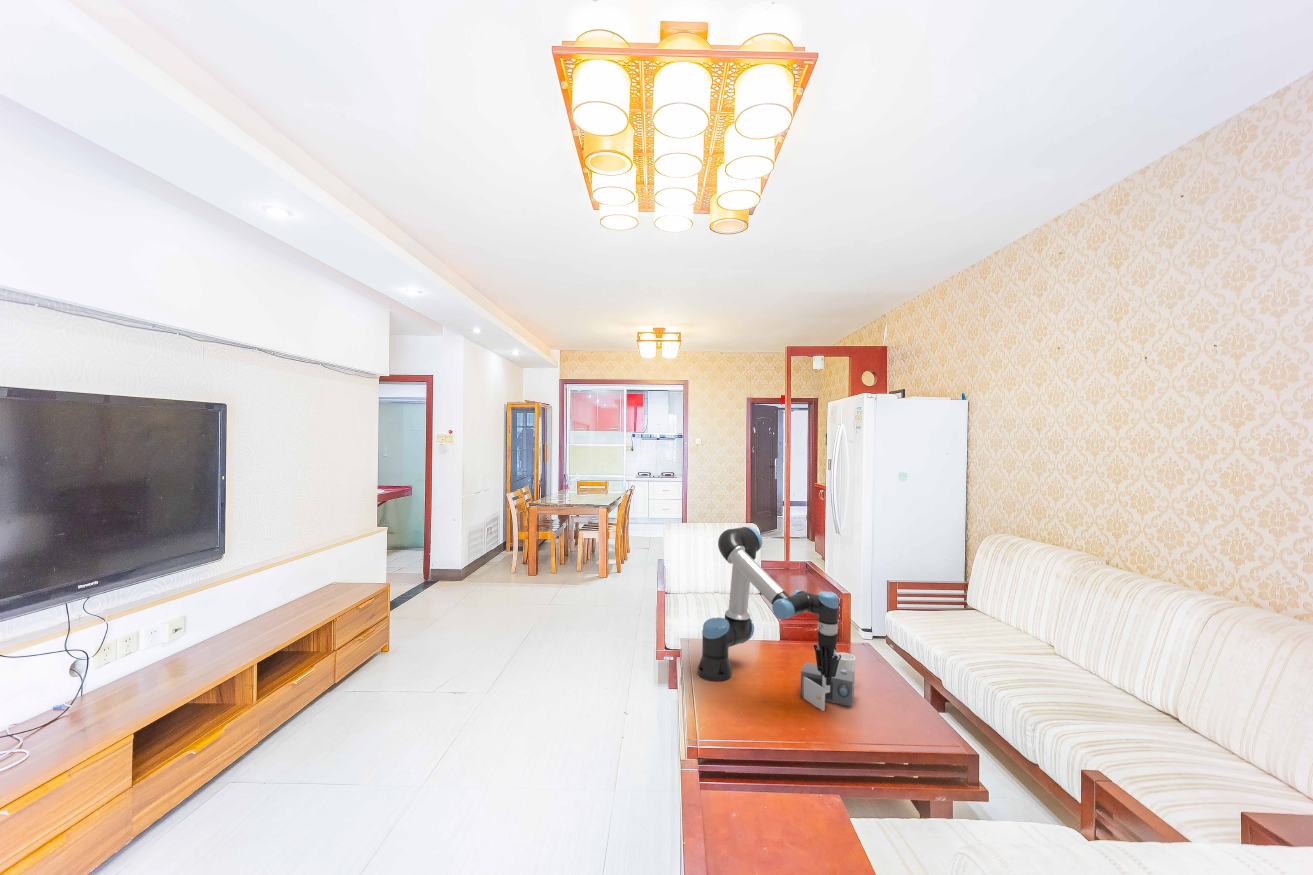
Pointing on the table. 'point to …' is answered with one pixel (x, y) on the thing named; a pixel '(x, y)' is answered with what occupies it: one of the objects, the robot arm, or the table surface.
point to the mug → (847, 662)
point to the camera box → (832, 684)
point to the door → (813, 693)
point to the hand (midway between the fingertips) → (826, 691)
